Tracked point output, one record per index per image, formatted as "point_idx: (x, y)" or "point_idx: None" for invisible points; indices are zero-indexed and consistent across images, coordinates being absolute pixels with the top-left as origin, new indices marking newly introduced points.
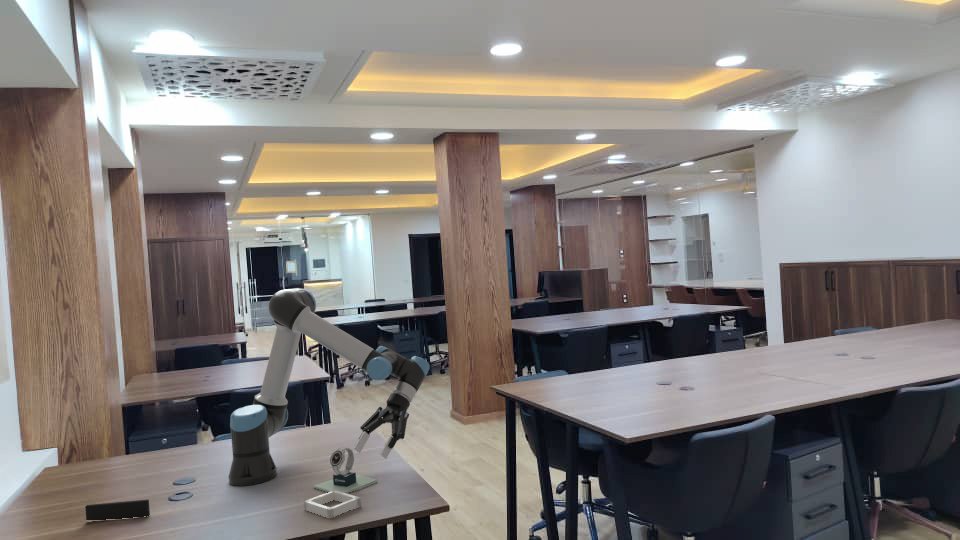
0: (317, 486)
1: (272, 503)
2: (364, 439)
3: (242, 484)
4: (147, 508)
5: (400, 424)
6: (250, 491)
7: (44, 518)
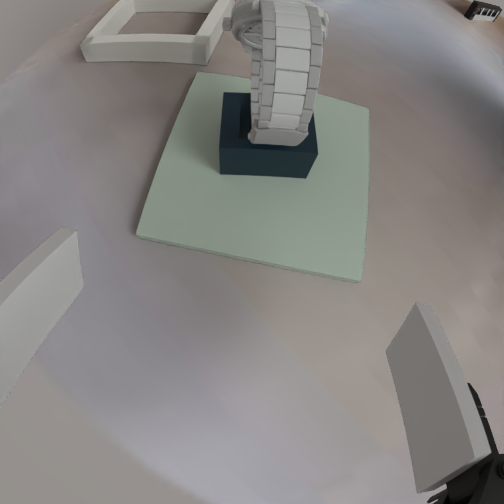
0: (348, 104)
1: (358, 29)
2: (426, 421)
3: None
4: (469, 7)
5: None
6: (477, 91)
7: None
